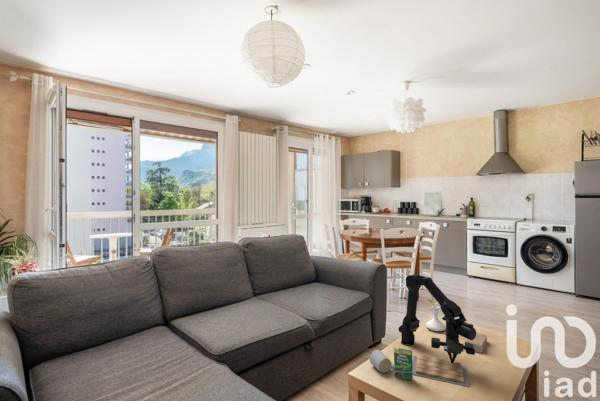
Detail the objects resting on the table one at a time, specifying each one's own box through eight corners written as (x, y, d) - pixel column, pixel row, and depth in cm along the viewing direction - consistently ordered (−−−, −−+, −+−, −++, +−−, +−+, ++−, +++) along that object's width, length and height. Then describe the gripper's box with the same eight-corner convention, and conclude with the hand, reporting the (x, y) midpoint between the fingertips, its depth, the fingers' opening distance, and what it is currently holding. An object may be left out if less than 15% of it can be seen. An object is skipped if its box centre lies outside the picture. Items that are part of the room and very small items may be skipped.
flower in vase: (450, 331, 187) (450, 290, 187) (434, 334, 184) (434, 292, 183) (435, 322, 200) (435, 284, 199) (420, 325, 197) (420, 286, 196)
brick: (470, 337, 180) (470, 329, 180) (487, 342, 175) (487, 333, 175) (464, 349, 168) (464, 340, 167) (482, 354, 162) (482, 345, 162)
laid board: (415, 373, 145) (415, 370, 145) (416, 365, 151) (416, 363, 151) (463, 383, 137) (463, 380, 137) (462, 375, 143) (462, 372, 143)
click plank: (416, 365, 152) (416, 362, 151) (417, 356, 158) (417, 354, 158) (462, 374, 144) (462, 372, 143) (461, 365, 150) (461, 362, 150)
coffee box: (393, 376, 143) (393, 348, 143) (394, 373, 146) (394, 346, 145) (411, 381, 139) (411, 353, 139) (412, 378, 142) (412, 350, 141)
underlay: (410, 374, 145) (410, 373, 145) (413, 356, 160) (413, 355, 160) (469, 386, 135) (469, 386, 135) (465, 366, 151) (465, 365, 151)
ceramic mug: (379, 375, 144) (379, 359, 144) (369, 366, 152) (369, 351, 152) (397, 370, 148) (398, 355, 148) (387, 362, 156) (387, 347, 156)
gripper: (431, 335, 146) (431, 367, 146) (476, 342, 138) (476, 376, 139) (431, 325, 156) (431, 356, 157) (473, 332, 149) (473, 363, 149)
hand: (452, 363), depth 150 cm, fingers closed, pressing on click plank
